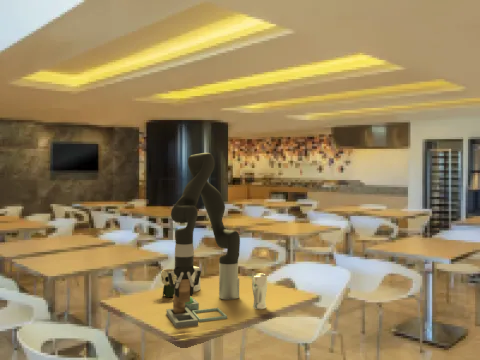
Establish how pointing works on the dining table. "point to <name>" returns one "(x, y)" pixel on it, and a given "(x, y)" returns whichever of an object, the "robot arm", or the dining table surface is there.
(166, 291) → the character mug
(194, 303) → the console
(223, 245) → the robot arm
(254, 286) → the beer glass
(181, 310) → the cylinder
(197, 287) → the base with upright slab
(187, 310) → the grey shallow tray
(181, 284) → the cylinder
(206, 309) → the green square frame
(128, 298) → the dining table surface
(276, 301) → the dining table surface
